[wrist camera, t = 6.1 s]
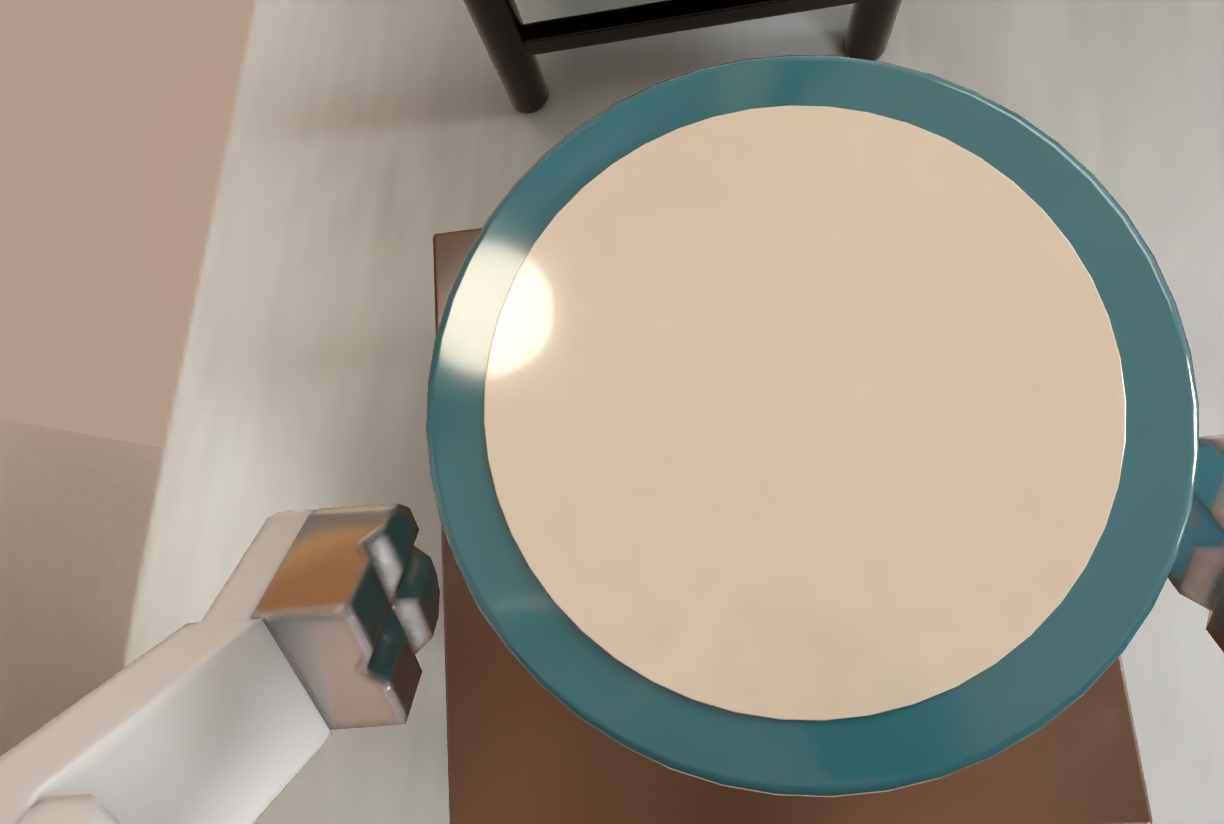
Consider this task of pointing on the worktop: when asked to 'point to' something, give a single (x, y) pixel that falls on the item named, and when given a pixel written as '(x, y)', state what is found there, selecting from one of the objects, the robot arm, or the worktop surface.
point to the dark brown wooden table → (645, 32)
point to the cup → (812, 425)
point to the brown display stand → (719, 815)
